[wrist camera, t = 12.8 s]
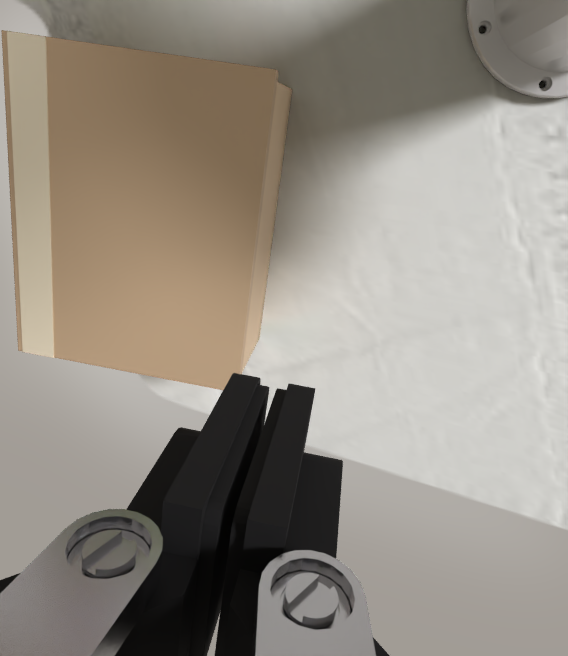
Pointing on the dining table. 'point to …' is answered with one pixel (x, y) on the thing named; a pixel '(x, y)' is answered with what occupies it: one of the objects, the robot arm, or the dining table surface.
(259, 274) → the cardboard box
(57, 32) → the dining table surface
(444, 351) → the dining table surface
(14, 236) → the box lid
